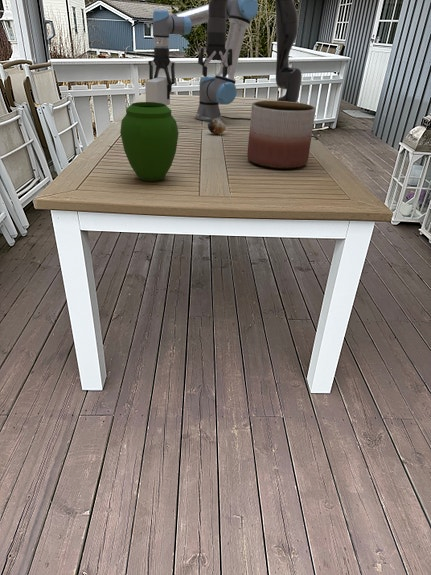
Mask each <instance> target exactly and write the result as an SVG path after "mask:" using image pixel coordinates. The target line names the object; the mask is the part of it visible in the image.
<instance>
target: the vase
mask: <svg viewBox="0 0 431 575" xmlns="http://www.w3.org/2000/svg"><path fill="white" fill-rule="evenodd" d="M125 113H126V114H125V115H124V117H122V119H121V122H120V123H121V124H120V130H119V133H120V138H121V142H122V147H123V150H124V154H125V155H126V158H127V160H128V163H129V165H130V167H131V168H132V170H133V172H134V173H135V175H136V176H137V177H138V178H139V179H141V180H143V181H145V182H159V181H161V180H163V179H164V178H165V176H166V175H167V174H168V173H169V170H170V169H171V167H172V165H173V162H174V159H175V157H176V156H175V155H176V153H177V147H178V140H179V129H178V122H177V120H176V119H175V117H174V116H173V115H172V109H171V108H170V107H169V106H168V105H167V106H166V105H165V104H162V103H156V102H146V101H138V102H132V103H131V104H130V105H128V107H127V108H125Z"/></svg>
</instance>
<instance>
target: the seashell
mask: <svg viewBox="0 0 431 575" xmlns="http://www.w3.org/2000/svg"><path fill="white" fill-rule="evenodd" d="M207 128H208V131H209V132H210V133H211V134H213V135H220V134H223V133H224V132H225V131H226V129H227V127H226V124H225V123H224V122H223V120H222V118H221V119H220V118H217V119H214V120H212V121H209V122H208V124H207Z"/></svg>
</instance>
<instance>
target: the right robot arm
mask: <svg viewBox="0 0 431 575" xmlns="http://www.w3.org/2000/svg"><path fill="white" fill-rule="evenodd" d="M227 1H228V0H209V1H208V4H209V6H208V22H206V23H207V24H206V47H205V48H204V47H200V46H199V48H198V56H197V57H198V59H197V63H198V65H200V66H201V67H202V74H201V75H202V76H203V77H208V65H209V63H211V61H220V63H222V64H223V66H224V67H223V73H222V77H226V76H227V68H228V66H230V65H232V49H225V46H226V41H227V19H226V5H227ZM275 31H276V32H275V33H276V63H275V64H276V65H275V84H276V86H277V87H278V88H279V89H282V90H285V94H284V95H283V96H280V97H278V98H277V100H276V101H287V102H296V103H298V100H299V96H300V90H301V86H302V80H303V74H302V71H301V69H300V68H297V67H292V66H289V63H290V62H289V61H290V60H289V58H290V52H291V50H292V47H293V45H294V44H295V41H296V39H297V37H298V33H299V17H298V11H297V8H296V5H295V2H294V0H275ZM205 53H206V57H205V58H204V55H205ZM225 53H226V54H227V62H226V59H225V57H224V54H225ZM311 138H314V139H316V140H319V137H317V136H316V135H312V136H311Z"/></svg>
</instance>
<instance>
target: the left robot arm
mask: <svg viewBox="0 0 431 575" xmlns="http://www.w3.org/2000/svg"><path fill="white" fill-rule="evenodd" d="M208 6H209V3H207V4H203V5H199V6H196V7H193V8H189V9H186V10H183V11H180V12H176V13H174V14H170V12H169V11H168V10H166V9H165V10H164V9H163V10H162V9H155V10H153V12H152V26H153V27H152V28H153V46H154V48H153V59H152V60H149V61H148V68H149V72H148V74H149V76H148V80H151V79H154V78H157V77H159V73H160V69H162V70H164V73H165V77H167V81H168V85H167V99H170V100H171V93H172V91H173V90H172V89H173V88H172V85H176V74H175V73H176V72H175V67H176V62H175V61H172V60H171V59H170V35H182V36H187V35H190V33H191V32H192V28H193V27H194V26H198V25H201V24H204V23H207V22H208ZM258 11H259V3H258V1H257V0H228V1H227V5H226V20H228V21H229V23H230V24H229V30H228V33H227V36H226V41H225V49H232V65H230V66H228V68H227V76H226V77H222V73H223V67H224V66H223V64H222V62H220V68H219V72H218V73H216V74H215V76H207V77H204V76H202V77H200V79H199V100H198V101H199V103H198V104H199V105H198V107H197V111H196V114H195V119H196V120H199V121H202V122H203V121H204V122H211V121H212V120H214V119H217V118H220V119H221V120H222V118H224V119H229V120H243V121H244V120H245V121H251V118H248V117H231V116H225V115H222V114H221V110H220V107H219V105H224V106H225V105H230V104H231V103H233V102H234V101H235V99H236V97H237V93H238V91H237V90H238V89H237V86H236V78H235V74H236V71H237V66H238V62H239V58H240V55H241V50H242V46H243V42H244V38H245V35H246V34H245V33H246V30H247V29H248V28H249V27H250V25H251V21H252V20H253V19H254V18H256V16H257V14H258ZM224 57H225V59H226V62H227V54H226V53H225V54H224ZM154 65H155V72H154ZM169 66H170V72H169Z"/></svg>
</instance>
